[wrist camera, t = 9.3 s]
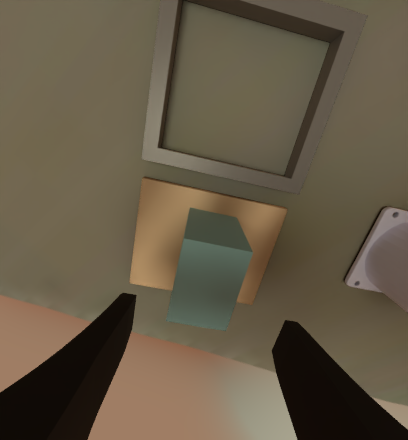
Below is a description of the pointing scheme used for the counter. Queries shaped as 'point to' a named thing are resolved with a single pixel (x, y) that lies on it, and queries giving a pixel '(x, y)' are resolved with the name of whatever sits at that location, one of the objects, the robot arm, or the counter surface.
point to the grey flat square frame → (319, 104)
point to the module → (209, 270)
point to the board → (175, 227)
